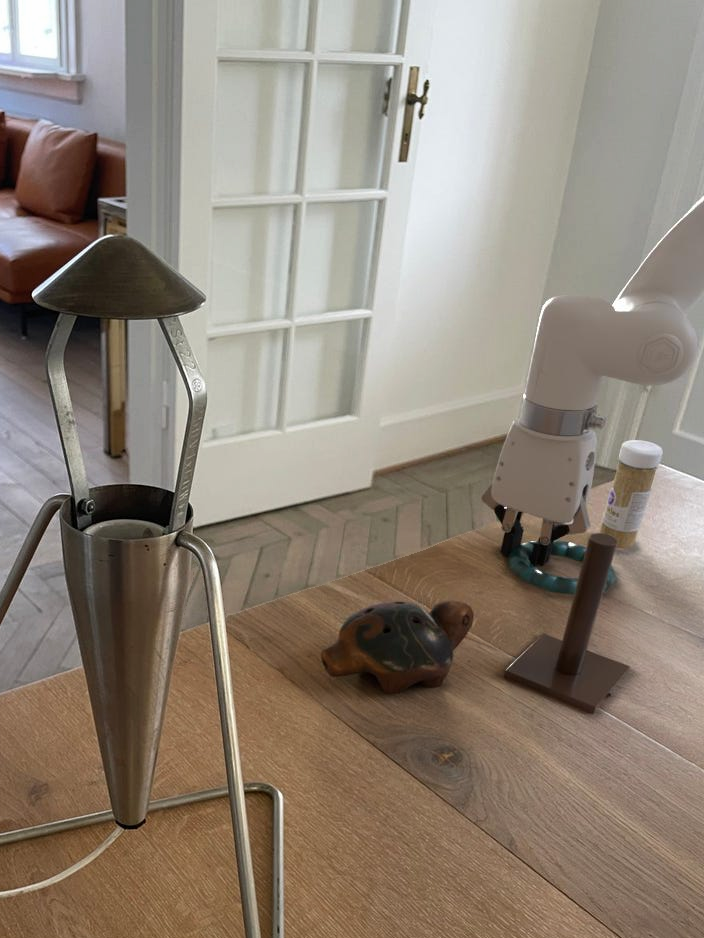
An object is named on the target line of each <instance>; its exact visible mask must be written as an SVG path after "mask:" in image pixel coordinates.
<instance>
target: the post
mask: <svg viewBox="0 0 704 938" xmlns="http://www.w3.org/2000/svg"><path fill="white" fill-rule="evenodd" d="M616 546H617V540H616V539H615V538H614V537H612V536H610V535H606V534H600V533H597V532H596V533H592V534H590V535H589V537H588V541H587V544H586V547H587V548H586V552H585V556H584V560H583V563H582V562H581V563H582V564H581V568H580V571H579V575H578V577H577V578H578V582H577V586H576V590H575V594H573V597H572V602H571V605H570V609H569V612H568V617H567V621H566V624H565V628H564V632H563V637H562V639H559V638H556V637H554V636H551V635H548V634H546V633H543V634H542V635H541V636H539V637H538V639H536V640H535V641H534V642H533V643H532V644H531V645H530V646H529V647H528V648H527V649H526V650H525V651H524V652H523V653H522V654H521V655H520V656H519V657H517V658H516V659H515V660H514V661H513V662H512V663H511V664H510V665H509V666H508V667H506V669H505V671H504V675H503V678H505V679H507V680H509V681H512V682H515V683H517V684H518V685H519V684H520V685H522V686H525V687H527V688H529V689H532V690H533V691H536V692H539V693H541V694H543V695H546V696H548V697H551V698H553V699H555V700H557V701H560V702H563V703H565V704H567V705H570V706H572V707H574V708H577V709H579V710H581V711H585V712H587V713H589V714H592V715H594V714H595V713H596V712H597V711H598V710H599V709H600V707H602V705H603V704H604V703H605V701H607V700H608V698H609V697H610V696H611V692H612V691H613V690H614V688H615V687H616V686H617V685H618V684H619V683H620V681H621V680H623V678H624V677H625V675H627V673H628V672H629V671H630V669H631V666H630V665H627V664H624V663H622V662H619V661H617V660H614V659H613V658H609V657H607V656H604V655H601V654H598V653H596V652H594V651H591V650H588V648H589V645H590V641H591V637H592V634H593V630H594V628H595V623H596V621H597V616H598V614H599V613H598V612H599V609H600V606H601V602H602V598H603V594H604V592H605V591H604V588H605V585H606V581H607V577H608V574H609V570H610V567H611V564H612V563H613V559H614V556H615V552H616V549H617V548H616Z"/></svg>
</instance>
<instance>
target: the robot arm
mask: <svg viewBox="0 0 704 938" xmlns="http://www.w3.org/2000/svg"><path fill="white" fill-rule="evenodd" d="M703 296H704V195H703V196H702V197H701V198H700V199H699V200H698V201H697V202H696V203H695V204H694V205H693V206H692V207H691V208H690V209H689V210H688V211H687V213H685V215H683V216H682V218H680V220H679V221H677V222H676V224H674V226H672V227H671V229H670V230H668V232H667V233H666V234H665V235H664V236H663V237H662V238H661V239H660V240H659V242H658V243H657V244H656V245H655V246H654V248H653V249H652V250H651V251H650V252H649V254H648V255H647V257H646V258H645V259H644V261H642V263H641V264H640V266H639V267H638V269H636V271H635V273H634V274H633V275H632V276H631V278H630V279H629V281H628V282H627V283H626V285H625V286H624V288H623V289H622V290H621V292H620V293H619V294H618V296H617V298H615V300H614V302H613V303H611V302H609V301H607V300H605V299H603V298H599V297H596V296H591V295H583V294H561V295H557V296H553V297H552V298H549V299H548V300H547V301H546V302H545V303H544V305H543V306H542V308H541V312H540V316H539V320H538V325H537V329H536V333H535V339H534V345H533V349H532V354H531V359H530V364H529V368H528V374H527V377H526V378H527V379H526V385H525V388H524V394H523V399H522V402H521V403H522V404H521V408H520V413H519V416H517V417H516V418H515V419H514V420H513V421H512V423H511V425H510V428H509V430H508V432H507V435H506V438H505V440H504V442H503V445H502V448H501V451H500V454H499V457H498V461H497V465H496V468H495V472H494V476H493V480H492V483H491V484H490V486H489V487H488V488H487V489H486V490H485V491H484V493H483V494H482V495H481V501H482V502H483V503H484V504H485V505H486V506H487V507H489V508H490V509H491V510H493V512H494V514H495V516H496V518H497V519H498V521H499V522H500V524H501V531H502V532H504V533H503V537H502V543H501V547H500V553H502V556H503V557H505V558H508V557H509V555H510V553H511V552H512V551H514V550H515V549H516V548H518V547H519V546H520V545H521V544H522V540H523V536H524V531H525V529H524V526H523V525H522V524H521V523H522V520H523V517H524V514H527V515H530V516H533V517H537V518H539V519H542V523H541V528H540V536H539V537H538V540H536V541H537V542H535V544H534V546H533V550H532V555H531V559H530V563H531V564H532V565H533V566H535V567H536V566H541V567H544V566H545V565H547V564H548V563H549V561H550V558H551V555H550V554H551V550H552V545H553V541H555V540H557V541H558V539H561V538H563V537H565V536H567V535H568V536H569V535H570V536H571V535H578V534H584V533H585V532H587V531H588V530H590V528H591V521H590V517H589V514H588V513H589V512H588V509H587V506H588V504H589V500H590V496H591V491H592V485H593V480H594V479H593V478H594V473H595V465H596V455H597V442H598V441H597V439H598V438H597V433H596V432H595V431H594V430H595V429H597V430H603V429H604V427H605V425H606V423H607V422H606V421H607V417H606V416H603V415H601V414H600V413H598V410H597V409H598V405H597V402H598V397H599V394H600V389H601V385H602V381H603V377H606V378H611V379H616V380H619V381H623V382H627V383H631V384H635V385H641V386H648V387H651V386H652V387H655V386H662V385H666V384H669V383H670V384H671V383H672V382H674V381H676V380H678V379H680V378H681V377H683V376H684V375H686V373H687V372H688V371H689V370H690V368H691V367H692V365H693V364H694V362H695V361H696V358H697V353H698V347H699V345H698V343H699V342H698V341H699V340H698V336H697V334H696V329H694V327H693V325H692V324H691V323H692V322H690V320H689V319H688V318H687V317H688V315H689V314H690V313H691V311H692V310H693V309H694V307H695V306H696V305H697V304H698V303H699V301H700V300H701V299H702V298H703ZM592 429H593V430H592Z"/></svg>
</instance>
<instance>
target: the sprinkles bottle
mask: <svg viewBox="0 0 704 938" xmlns="http://www.w3.org/2000/svg"><path fill="white" fill-rule="evenodd" d="M663 453H664V452H663V447H660V446H659V445H658V444H656V443H654V442H650V441H647V440H641V439H631V440H626V441H624V442H623V443H622V444H621V447H620V450H619V454H618V465H617V468H616V472H615V475H614V479H613V482H612V487H611V488H610V492H609V495H608V499H607V503H606V506H605V509H604V512H603V515H602V522H601V525H600V529H599V533H600V534H606V535H610V536H612V537H614V538H615V539H616V540H617V546H616V549H629V548H632V547H633V546H634V545H635V542H636V538H637V536H638V533H639V529H641V528H640V527H641V525H642V522H643V517H644V514H645V510H646V508H647V503H648V500H649V497H650V493H651V491H652V486H653V485H652V484H653V482H654V478H655V475H656V470H657V469H658V466H660V463H661V460H662V456H663Z"/></svg>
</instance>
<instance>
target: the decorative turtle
mask: <svg viewBox="0 0 704 938" xmlns="http://www.w3.org/2000/svg"><path fill="white" fill-rule="evenodd" d="M473 622H474V610H473V608H472V607H471V605H470V604H468V603H467V602H466V601H462V600H458V599H445V600H441V601H439V602H437V603H436V604H435V605H434V606H433V607H432V609H431V610H430V612H427V611H425V609H424V608H423V607H422V606H420V605H418V604H417V603H414V602H410V601H401V600H398V601H397V600H396V601H395V600H394V601H385V602H379V603H376V604H372V605H369V606H367V607H363V608H362V609H360V610H358V611H356V612H354V613H352V614H351V615H350V616H349V617H348V618H346V620H345V621H344V623H342V625H341V627H340V629H339V632H338V638H337V640H336V641H335V642H333V643H331V644H329V645H328V646H325V647H323V648H322V649H321V650H320V658H321V663H322V665H323V668H324V670H325V671H326V673H327V674H328V675H329V677H333V678H334V677H335V678H339V677H346V676H350V675H357V674H364V673H369V674H372V675H374V676H375V677H376V679H377V681H378V682H379V685H380V687H381V689H382V690H383V692H385V693H389V694H400V693H402V692H403V691H405V690H406V689H408V688H410V687H411V686H413V685H415V684H417V683H420V684H421V685H423V686H424V687H426V688H431V689H432V688H440V687H441V686H442V685H443V683H444V681H445V679H446V678H447V676H448V674H449V672H450V669H451V666H452V664H453V661H454V651H455V650H456V648H458V646H459V645H460V644H461V643H462V641H464V640H465V638H466V636H467V635H468V633H469V631H470V629H471V628H472V626H473Z"/></svg>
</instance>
